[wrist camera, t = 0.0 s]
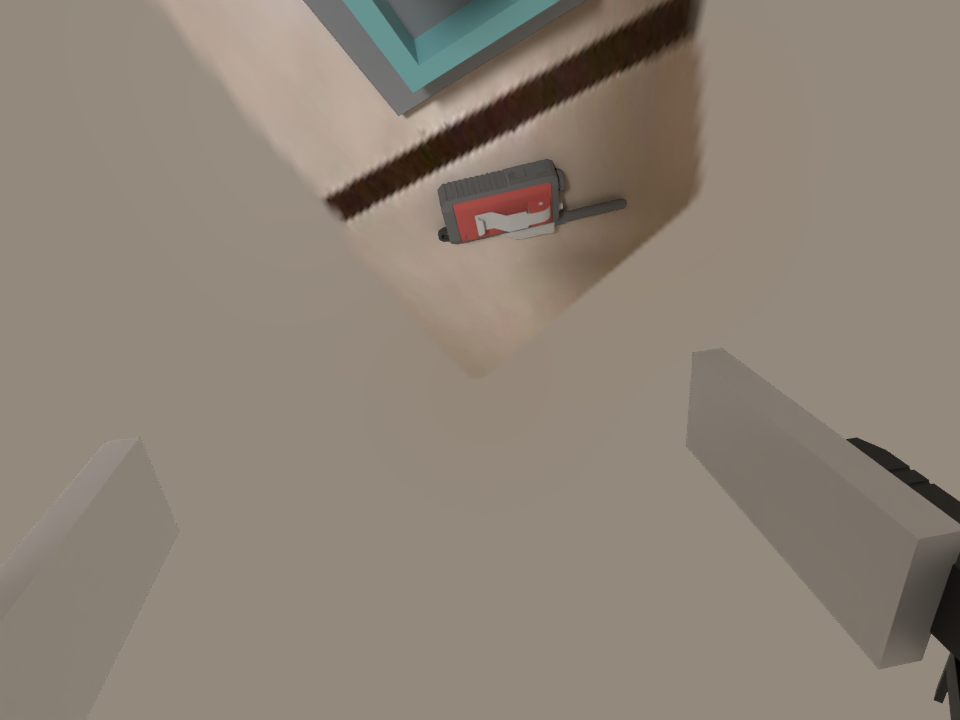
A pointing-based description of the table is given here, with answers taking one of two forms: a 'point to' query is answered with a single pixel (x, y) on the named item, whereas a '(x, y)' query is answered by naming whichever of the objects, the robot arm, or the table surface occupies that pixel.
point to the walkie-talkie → (509, 204)
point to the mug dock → (429, 38)
